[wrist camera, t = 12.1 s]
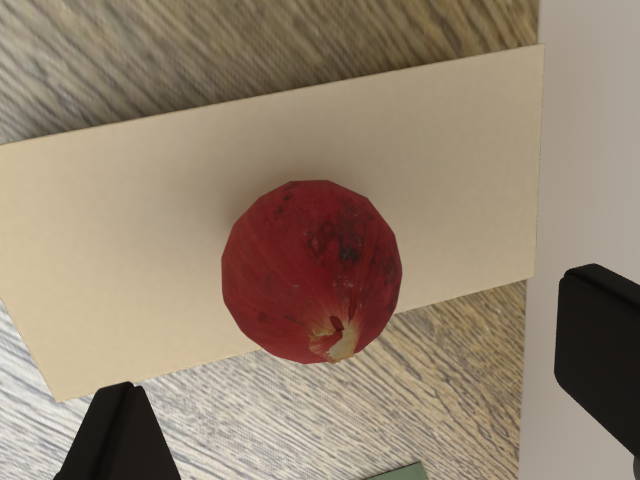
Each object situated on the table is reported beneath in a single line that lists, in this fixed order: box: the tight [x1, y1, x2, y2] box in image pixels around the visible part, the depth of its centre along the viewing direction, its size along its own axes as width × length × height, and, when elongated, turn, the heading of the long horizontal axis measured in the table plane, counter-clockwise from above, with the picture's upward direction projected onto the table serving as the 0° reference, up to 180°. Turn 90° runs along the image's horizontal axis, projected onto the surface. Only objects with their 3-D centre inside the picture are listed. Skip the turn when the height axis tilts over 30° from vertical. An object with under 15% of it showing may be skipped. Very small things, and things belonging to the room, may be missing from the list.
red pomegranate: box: [221, 180, 402, 364], centre depth 14 cm, size 6×6×8 cm
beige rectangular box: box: [0, 43, 545, 403], centre depth 20 cm, size 23×11×6 cm, turn 100°
